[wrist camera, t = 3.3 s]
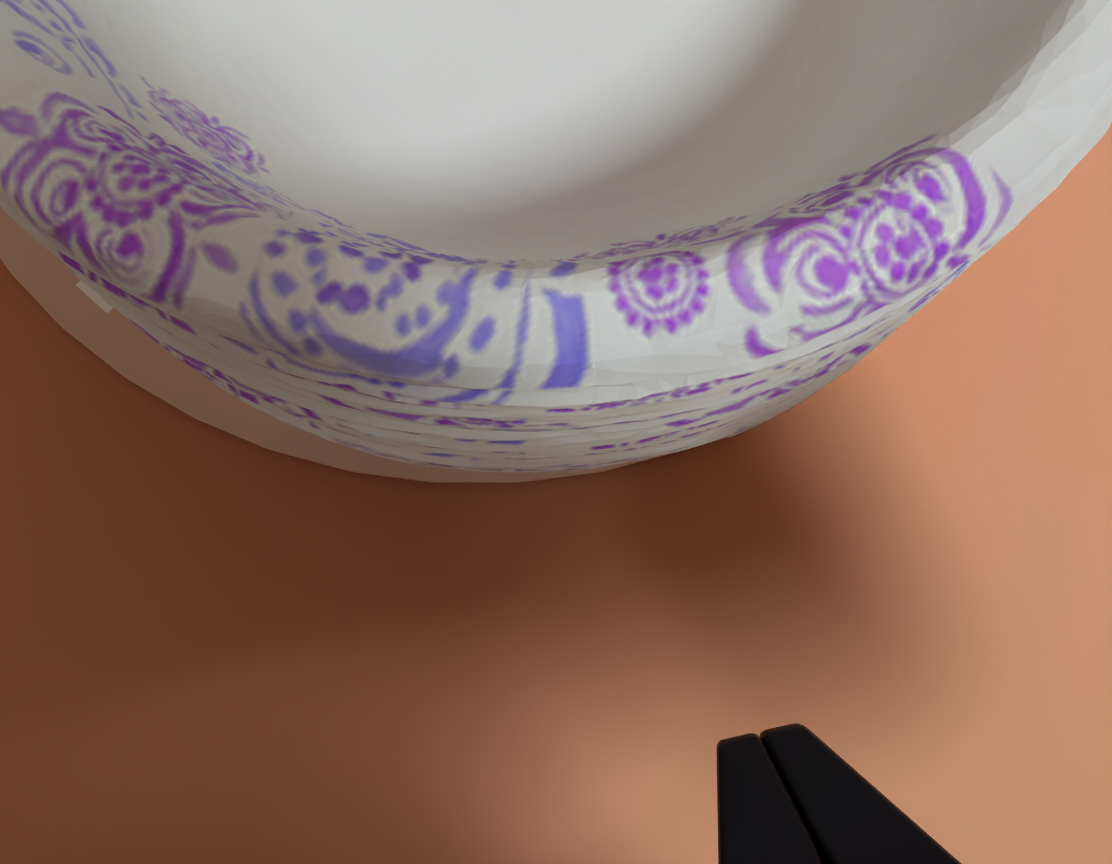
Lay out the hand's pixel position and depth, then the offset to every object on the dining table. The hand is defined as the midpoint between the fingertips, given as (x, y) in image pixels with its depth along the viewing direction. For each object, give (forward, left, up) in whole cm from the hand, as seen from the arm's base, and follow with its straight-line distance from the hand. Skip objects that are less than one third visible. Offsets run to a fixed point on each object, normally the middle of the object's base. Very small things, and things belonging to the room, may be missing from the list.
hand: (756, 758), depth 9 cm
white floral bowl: (+9, -7, -7) cm, 13 cm away
